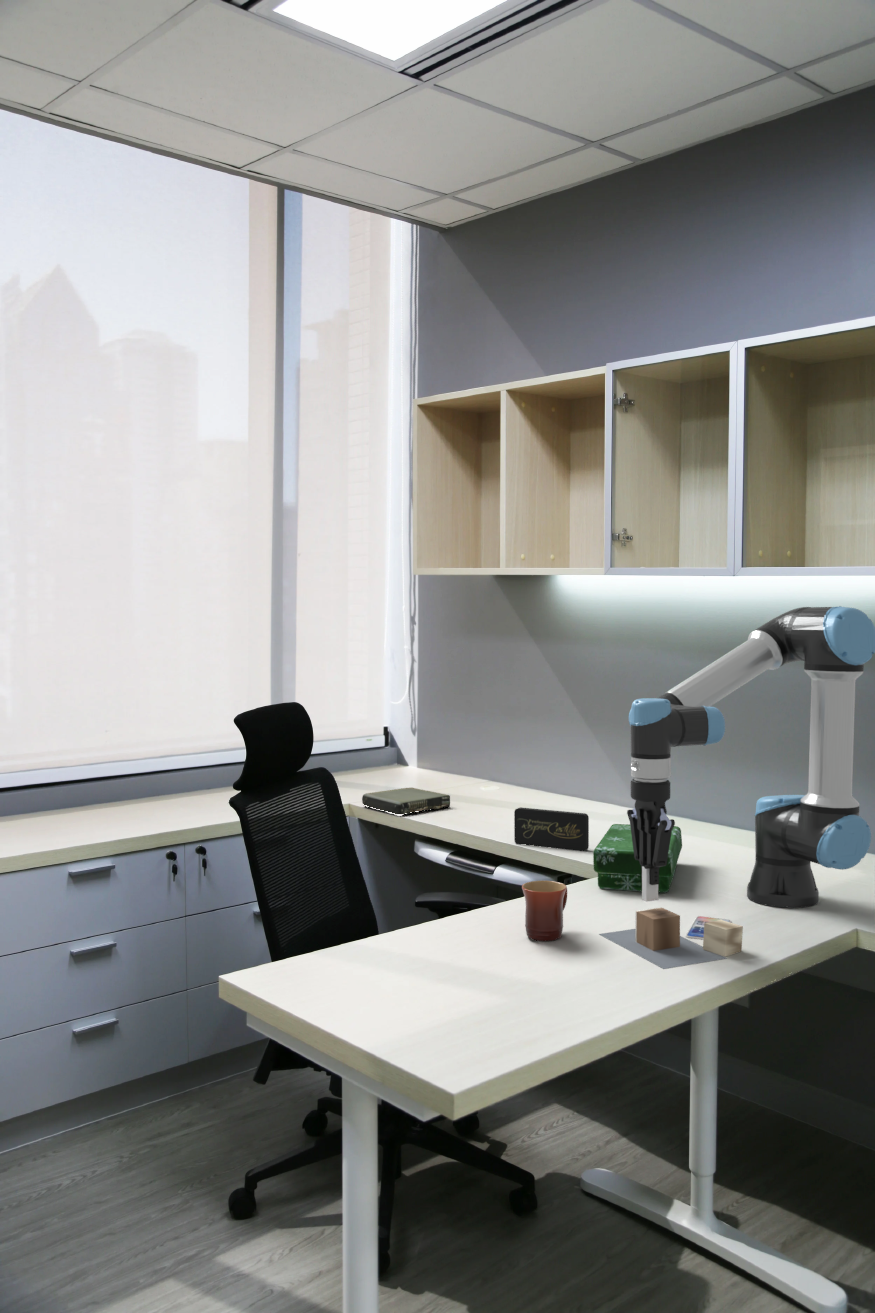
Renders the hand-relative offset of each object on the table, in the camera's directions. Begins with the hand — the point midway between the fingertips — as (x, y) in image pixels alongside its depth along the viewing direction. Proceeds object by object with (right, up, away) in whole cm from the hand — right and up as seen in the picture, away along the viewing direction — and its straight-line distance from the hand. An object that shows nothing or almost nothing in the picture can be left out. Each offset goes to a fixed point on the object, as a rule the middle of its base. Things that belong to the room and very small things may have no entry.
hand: (650, 899), depth 203 cm
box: (+8, -7, +51) cm, 52 cm away
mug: (-19, -9, +5) cm, 22 cm away
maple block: (+12, -8, -6) cm, 16 cm away
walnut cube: (0, -5, +1) cm, 5 cm away
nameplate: (-10, -5, +82) cm, 83 cm away
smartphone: (+13, -9, +8) cm, 18 cm away
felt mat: (+1, -8, -3) cm, 9 cm away
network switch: (-52, -3, +140) cm, 149 cm away
